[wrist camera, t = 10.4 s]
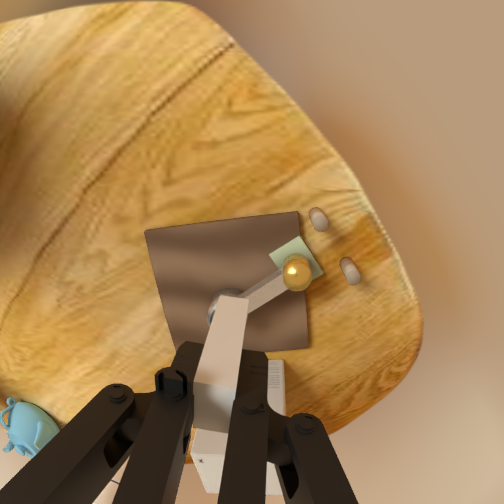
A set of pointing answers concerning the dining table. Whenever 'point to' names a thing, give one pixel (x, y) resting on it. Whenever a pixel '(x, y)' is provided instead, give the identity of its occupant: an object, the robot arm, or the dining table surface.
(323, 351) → the dining table surface
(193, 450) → the supplement box
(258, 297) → the crank handle
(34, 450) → the teapot
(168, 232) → the dial board
